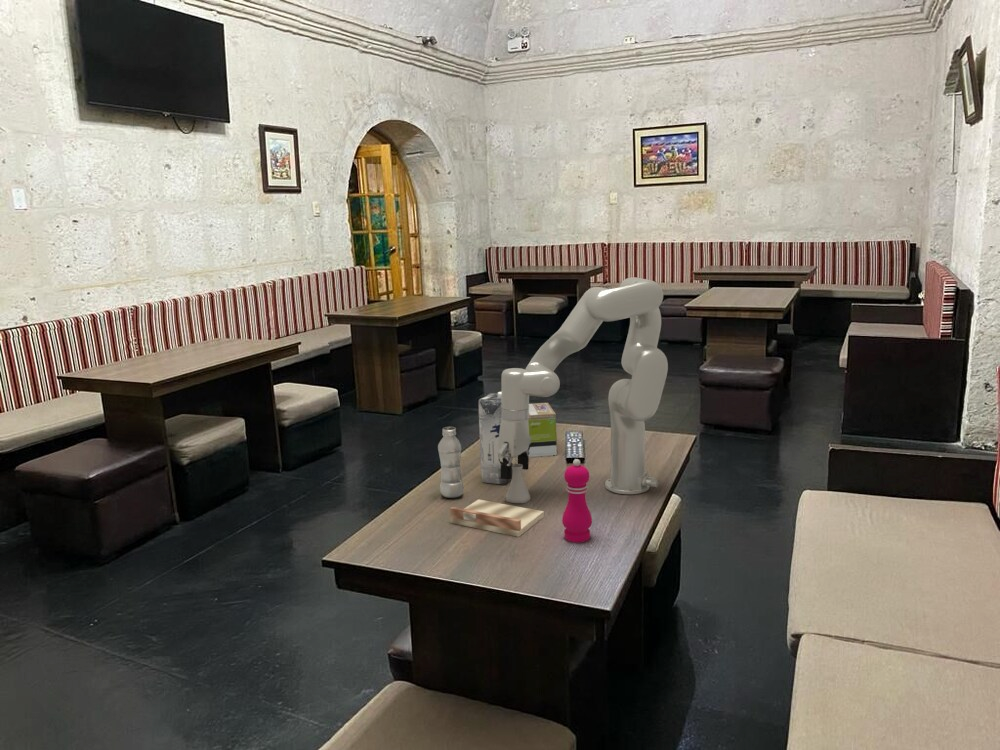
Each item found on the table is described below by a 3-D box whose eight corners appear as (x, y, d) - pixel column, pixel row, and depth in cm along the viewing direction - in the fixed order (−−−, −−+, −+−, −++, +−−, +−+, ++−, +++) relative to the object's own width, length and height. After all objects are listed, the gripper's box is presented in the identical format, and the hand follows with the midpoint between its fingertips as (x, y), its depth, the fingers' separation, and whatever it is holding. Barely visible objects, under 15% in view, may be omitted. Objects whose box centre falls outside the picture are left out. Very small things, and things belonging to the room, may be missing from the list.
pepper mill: (572, 546, 178) (572, 466, 174) (556, 535, 185) (555, 457, 181) (597, 539, 182) (597, 460, 178) (581, 529, 188) (580, 452, 184)
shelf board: (543, 516, 196) (543, 502, 195) (518, 537, 184) (517, 522, 183) (478, 504, 206) (478, 490, 205) (450, 523, 194) (449, 508, 193)
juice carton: (478, 483, 222) (475, 395, 217) (491, 472, 232) (489, 387, 226) (506, 486, 219) (503, 397, 213) (518, 475, 229) (516, 389, 223)
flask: (534, 496, 211) (533, 462, 209) (526, 505, 204) (525, 470, 202) (509, 493, 213) (508, 460, 211) (501, 503, 207) (500, 468, 205)
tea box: (521, 444, 260) (520, 403, 257) (549, 443, 261) (549, 401, 258) (527, 458, 245) (526, 414, 242) (557, 456, 246) (557, 412, 243)
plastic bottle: (460, 501, 209) (458, 432, 205) (437, 500, 210) (434, 431, 206) (466, 492, 215) (463, 425, 211) (443, 491, 216) (440, 425, 212)
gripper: (518, 405, 213) (517, 463, 216) (487, 419, 198) (487, 480, 202) (541, 408, 209) (540, 467, 213) (512, 422, 195) (511, 485, 198)
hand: (514, 473), depth 207 cm, fingers open, 9 cm apart
